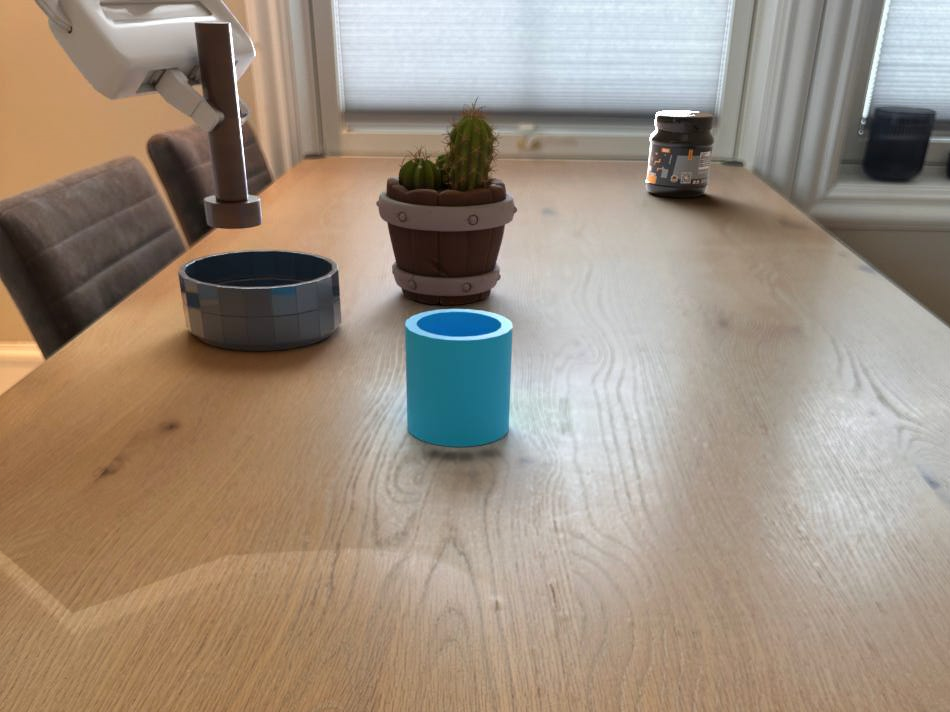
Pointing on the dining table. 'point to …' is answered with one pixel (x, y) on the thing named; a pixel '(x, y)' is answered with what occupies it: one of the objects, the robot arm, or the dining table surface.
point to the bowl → (261, 299)
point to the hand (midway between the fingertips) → (230, 123)
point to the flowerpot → (449, 217)
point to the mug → (458, 376)
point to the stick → (225, 132)
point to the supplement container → (680, 154)
